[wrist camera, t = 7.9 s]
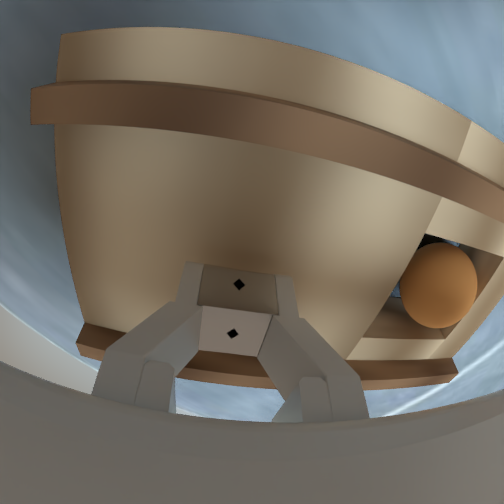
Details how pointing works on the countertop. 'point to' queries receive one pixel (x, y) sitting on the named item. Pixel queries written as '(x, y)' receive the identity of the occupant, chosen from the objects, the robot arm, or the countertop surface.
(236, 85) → the lane board
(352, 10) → the countertop surface
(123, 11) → the countertop surface
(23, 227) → the countertop surface
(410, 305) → the ball
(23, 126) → the countertop surface
